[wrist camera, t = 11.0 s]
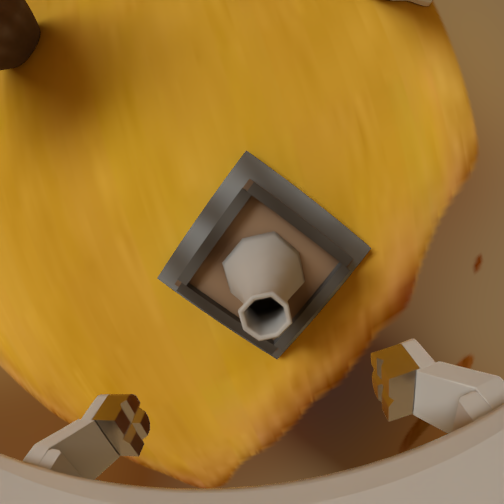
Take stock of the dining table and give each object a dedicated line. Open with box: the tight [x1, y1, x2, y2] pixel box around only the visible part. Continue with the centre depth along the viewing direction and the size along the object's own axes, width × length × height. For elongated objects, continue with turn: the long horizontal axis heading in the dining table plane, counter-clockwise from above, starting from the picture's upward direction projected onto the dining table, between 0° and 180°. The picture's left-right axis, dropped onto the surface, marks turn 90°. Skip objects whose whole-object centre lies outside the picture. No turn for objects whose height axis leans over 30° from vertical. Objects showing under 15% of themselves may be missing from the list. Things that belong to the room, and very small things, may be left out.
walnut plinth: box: [158, 151, 371, 359], centre depth 30 cm, size 16×16×5 cm
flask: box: [222, 231, 305, 341], centre depth 23 cm, size 7×7×10 cm
